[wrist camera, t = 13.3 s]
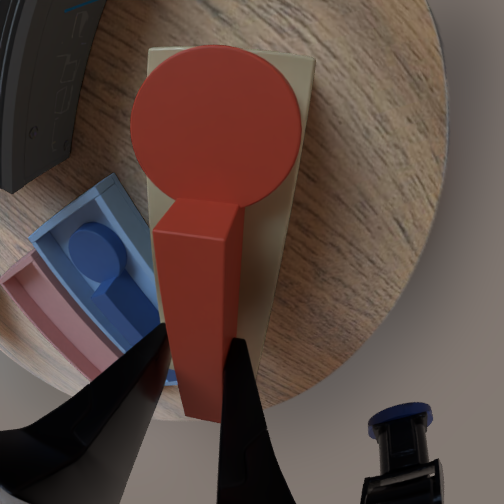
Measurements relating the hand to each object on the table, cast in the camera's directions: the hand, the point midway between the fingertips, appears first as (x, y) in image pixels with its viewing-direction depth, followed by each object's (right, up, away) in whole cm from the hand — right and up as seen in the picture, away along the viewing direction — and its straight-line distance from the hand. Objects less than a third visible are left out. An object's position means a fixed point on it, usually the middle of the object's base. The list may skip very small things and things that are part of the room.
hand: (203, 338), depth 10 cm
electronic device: (-12, +16, 0) cm, 20 cm away
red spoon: (+1, +3, -1) cm, 3 cm away
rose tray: (-13, -3, +13) cm, 18 cm away
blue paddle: (-6, 0, +9) cm, 11 cm away
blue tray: (-6, 0, +9) cm, 11 cm away
